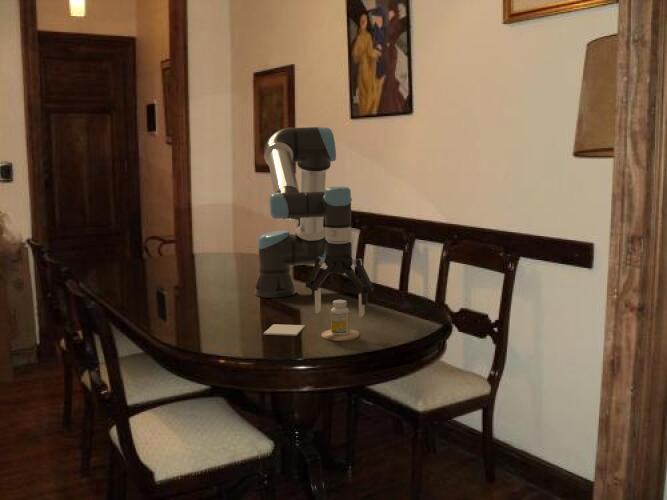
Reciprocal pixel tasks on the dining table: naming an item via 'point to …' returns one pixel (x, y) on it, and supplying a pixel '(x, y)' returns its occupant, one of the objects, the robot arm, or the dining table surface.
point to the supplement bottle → (340, 318)
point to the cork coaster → (329, 336)
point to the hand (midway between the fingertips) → (339, 313)
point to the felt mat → (284, 330)
